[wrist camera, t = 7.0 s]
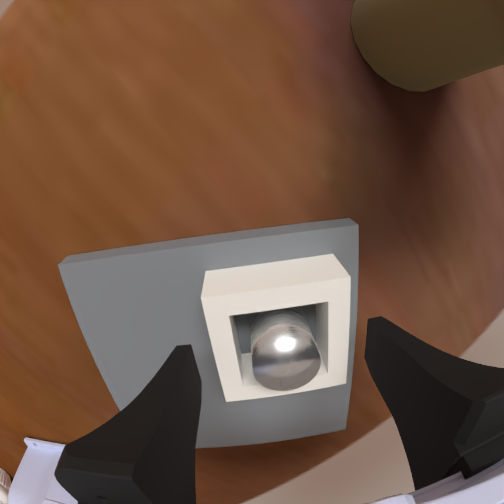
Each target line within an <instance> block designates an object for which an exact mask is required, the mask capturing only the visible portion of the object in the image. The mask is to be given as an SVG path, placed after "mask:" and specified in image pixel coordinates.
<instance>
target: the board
mask: <svg viewBox="0 0 504 504" xmlns="http://www.w3.org/2000/svg"><path fill="white" fill-rule="evenodd" d="M327 254H334V256H335V257H336V258H337V260H338V261H339V262H340V263H341V265H342V266H343V267H344V269H345V270H346V271H347V273H348V274H349V275H350V277H351V291H350V327H349V347H348V364H347V378H346V384H341V385H337V386H332V387H327V388H321V389H316V390H311V391H305V392H299V393H293V394H286V395H280V396H273V397H265V398H258V399H249V400H240V401H231V402H226V400H225V396H224V392H223V388H222V384H221V381H220V377H219V373H218V369H217V365H216V361H215V357H214V353H213V349H212V345H211V340H210V336H209V332H208V328H207V323H206V319H205V315H204V310H203V306H202V301H201V294H202V288H203V282H204V277H205V271H211V270H218V269H226V268H233V267H241V266H248V265H255V264H263V263H270V262H277V261H285V260H292V259H299V258H306V257H313V256H320V255H327ZM58 267H59V270H60V273H61V276H62V279H63V282H64V285H65V288H66V291H67V294H68V297H69V299H70V302H71V305H72V308H73V310H74V313H75V315H76V318H77V320H78V323H79V325H80V328H81V330H82V333H83V335H84V338H85V340H86V342H87V345H88V347H89V349H90V351H91V354H92V356H93V358H94V360H95V362H96V365H97V367H98V369H99V371H100V373H101V375H102V377H103V379H104V381H105V383H106V385H107V387H108V389H109V391H110V393H111V395H112V397H113V399H114V401H115V403H116V404H117V406H118V408H119V410H120V411H122V410H123V409H124V408H125V407H126V406H127V405H128V404H129V403H131V402H132V401H133V400H134V399H135V398H136V397H137V396H138V395H139V393H140V392H141V391H142V390H143V389H144V388H145V387H146V385H147V384H148V383H149V382H150V381H151V379H152V378H153V377H154V376H155V374H156V373H157V372H158V370H159V369H160V368H161V366H162V365H163V364H164V362H165V361H166V359H167V358H168V357H169V355H170V354H171V352H172V351H173V350H174V348H175V347H176V346H177V345H189V344H191V345H192V349H193V353H194V356H195V360H196V363H197V367H198V370H199V374H200V377H201V381H202V402H201V410H200V418H199V425H198V432H197V440H196V448H213V447H229V446H241V445H252V444H261V443H269V442H277V441H284V440H291V439H297V438H303V437H309V436H315V435H320V434H325V433H330V432H335V431H339V430H344V429H346V424H347V416H348V409H349V401H350V392H351V383H352V373H353V362H354V350H355V337H356V321H357V301H358V267H359V225H358V224H357V223H355V222H354V221H353V220H352V219H350V218H343V219H335V220H326V221H317V222H309V223H300V224H292V225H284V226H276V227H268V228H260V229H252V230H244V231H236V232H229V233H221V234H214V235H206V236H199V237H192V238H184V239H177V240H170V241H163V242H156V243H149V244H142V245H135V246H128V247H122V248H115V249H108V250H102V251H95V252H89V253H82V254H76V255H70V256H67V257H66V258H65V259H64V260H63V261H62V262H61V263H59V264H58ZM302 308H303V311H304V314H305V316H306V319H307V322H308V324H309V327H310V330H311V332H312V335H313V338H314V341H315V343H316V305H315V304H309V305H303V306H302ZM248 315H249V313H247V314H239V315H234V317H235V322H236V328H237V333H238V339H239V344H240V350H241V354H243V353H251V345H250V334H249V322H248Z"/></svg>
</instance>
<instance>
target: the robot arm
mask: <svg viewBox="0 0 504 504" xmlns="http://www.w3.org/2000/svg"><path fill="white" fill-rule="evenodd" d="M364 357H365V360H366V363H367V366H368V368H369V371H370V374H371V376H372V378H373V380H374V382H375V384H376V386H377V388H378V390H379V391H380V393H381V395H382V397H383V399H384V401H385V403H386V404H387V406H388V408H389V410H390V412H391V414H392V416H393V418H394V420H395V423H396V425H397V428H398V431H399V434H400V436H401V439H402V442H403V445H404V449H405V452H406V455H407V458H408V462H409V466H410V469H411V473H412V478H413V482H414V487H415V491H414V492H411V493H409V494H398V495H393V496H389V497H385V498H382V499H379V500H376V501H373V502H369V503H366V504H504V368H497V367H492V366H486V365H482V364H478V363H474V362H471V361H467V360H464V359H461V358H458V357H456V356H453V355H451V354H448V353H446V352H443V351H441V350H439V349H437V348H435V347H433V346H431V345H429V344H427V343H425V342H423V341H422V340H420V339H418V338H416V337H415V336H413V335H411V334H410V333H408V332H406V331H405V330H403V329H401V328H400V327H398V326H397V325H395V324H393V323H392V322H390V321H389V320H387V319H385V318H383V317H382V316H380V317H375V318H370V319H368V324H367V336H366V347H365V356H364ZM201 402H202V381H201V377H200V374H199V370H198V367H197V363H196V360H195V356H194V353H193V349H192V345H191V344H189V345H177V346H176V347H175V348H174V350H173V351H172V352H171V354H170V355H169V357H168V358H167V359H166V361H165V362H164V364H163V365H162V366H161V368H160V369H159V370H158V372H157V373H156V374H155V376H154V377H153V378H152V379H151V381H150V382H149V383H148V384H147V385H146V387H145V388H144V389H143V390H142V391H141V392H140V393H139V395H138V396H137V397H136V398H135V399H134V400H133V401H132V402H131V403H129V404H128V405H127V406H126V407H125V408H124V409H123V410H122V411H120V412H119V413H118V414H117V415H115V416H114V417H113V418H111V419H110V420H109V421H108V422H106V423H105V424H103V425H102V426H100V427H99V428H97V429H95V430H94V431H92V432H90V433H89V434H87V435H85V436H83V437H81V438H79V439H77V440H75V441H73V442H71V443H69V444H67V445H65V444H59V443H53V442H48V441H42V440H37V439H32V438H28V437H26V438H25V439H24V442H25V443H26V444H27V446H28V448H27V450H26V452H25V454H24V456H23V459H22V461H21V463H20V465H19V467H18V470H17V472H16V474H15V477H14V479H13V481H12V484H11V486H10V489H9V493H8V504H196V494H195V448H196V440H197V432H198V425H199V418H200V410H201Z"/></svg>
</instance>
